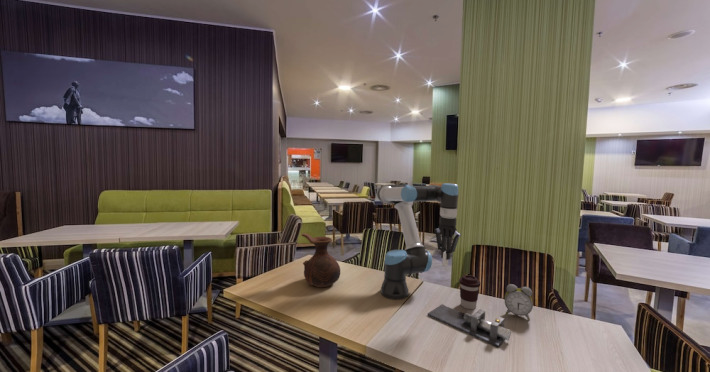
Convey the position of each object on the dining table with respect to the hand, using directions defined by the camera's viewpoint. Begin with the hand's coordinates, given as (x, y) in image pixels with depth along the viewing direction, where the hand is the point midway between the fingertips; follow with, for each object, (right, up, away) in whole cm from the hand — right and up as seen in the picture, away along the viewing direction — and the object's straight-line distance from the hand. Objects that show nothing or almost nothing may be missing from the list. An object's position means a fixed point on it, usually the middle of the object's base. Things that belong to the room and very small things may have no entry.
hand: (445, 265), depth 138 cm
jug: (-63, -20, +33) cm, 74 cm away
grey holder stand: (+7, -25, -7) cm, 27 cm away
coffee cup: (+15, -23, +9) cm, 29 cm away
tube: (+13, -24, -14) cm, 31 cm away
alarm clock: (+35, -25, +1) cm, 43 cm away
